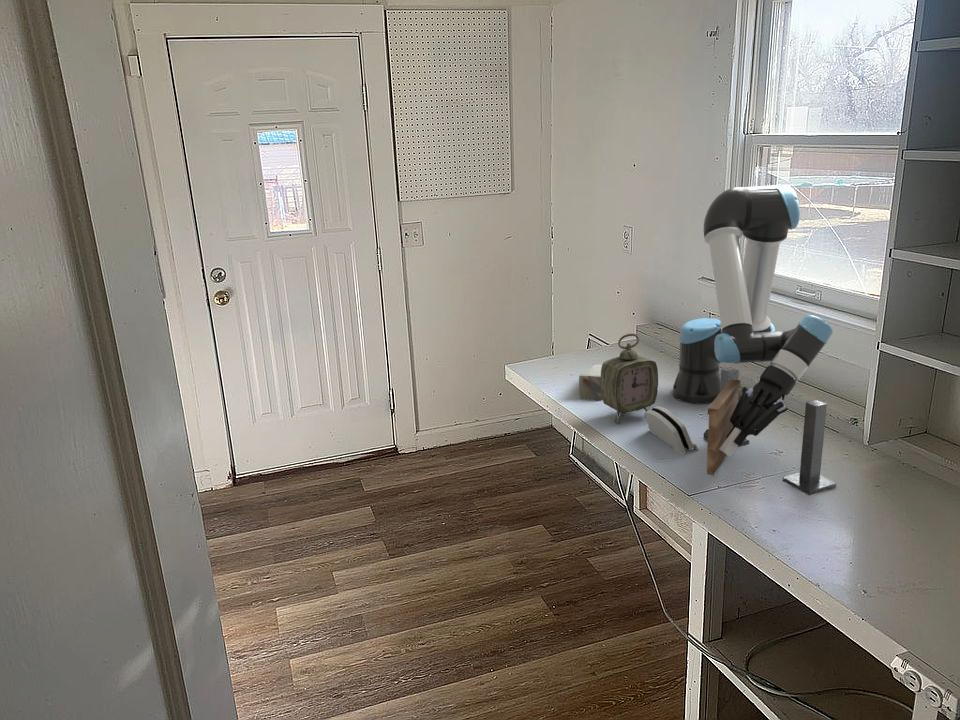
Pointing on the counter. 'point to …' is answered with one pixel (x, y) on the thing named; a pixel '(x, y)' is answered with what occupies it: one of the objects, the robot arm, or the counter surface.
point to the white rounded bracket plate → (669, 429)
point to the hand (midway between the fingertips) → (724, 453)
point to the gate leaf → (720, 424)
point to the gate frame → (811, 445)
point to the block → (591, 384)
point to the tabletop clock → (629, 381)
